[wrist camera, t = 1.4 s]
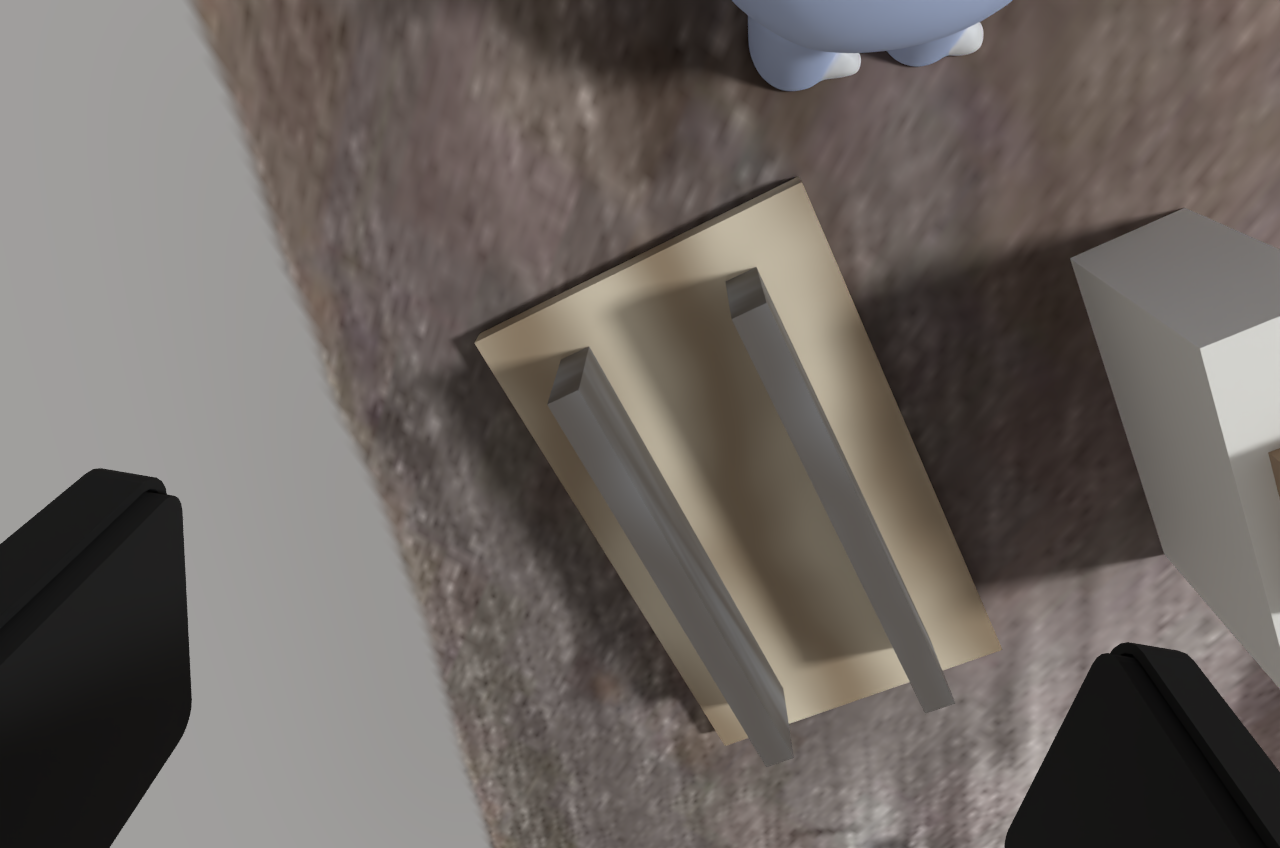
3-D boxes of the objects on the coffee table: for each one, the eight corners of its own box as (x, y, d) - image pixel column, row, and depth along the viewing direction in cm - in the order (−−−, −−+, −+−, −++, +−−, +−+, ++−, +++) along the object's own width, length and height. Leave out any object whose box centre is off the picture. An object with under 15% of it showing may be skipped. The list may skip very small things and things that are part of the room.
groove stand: (798, 176, 31) (818, 208, 27) (995, 634, 40) (1035, 717, 35) (479, 333, 34) (449, 386, 30) (723, 730, 43) (729, 817, 38)
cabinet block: (1183, 207, 32) (1400, 302, 22) (1263, 516, 37) (1466, 700, 27) (1069, 257, 32) (1230, 370, 23) (1162, 552, 38) (1325, 743, 28)
